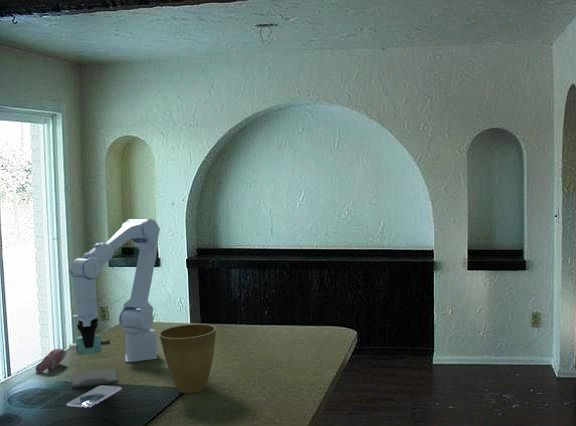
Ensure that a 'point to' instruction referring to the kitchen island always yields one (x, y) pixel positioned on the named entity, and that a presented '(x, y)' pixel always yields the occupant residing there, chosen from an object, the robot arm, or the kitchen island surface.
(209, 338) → the plant pot
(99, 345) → the plug
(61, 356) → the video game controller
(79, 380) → the pad
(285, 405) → the kitchen island surface
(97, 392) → the mobile phone
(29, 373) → the kitchen island surface
